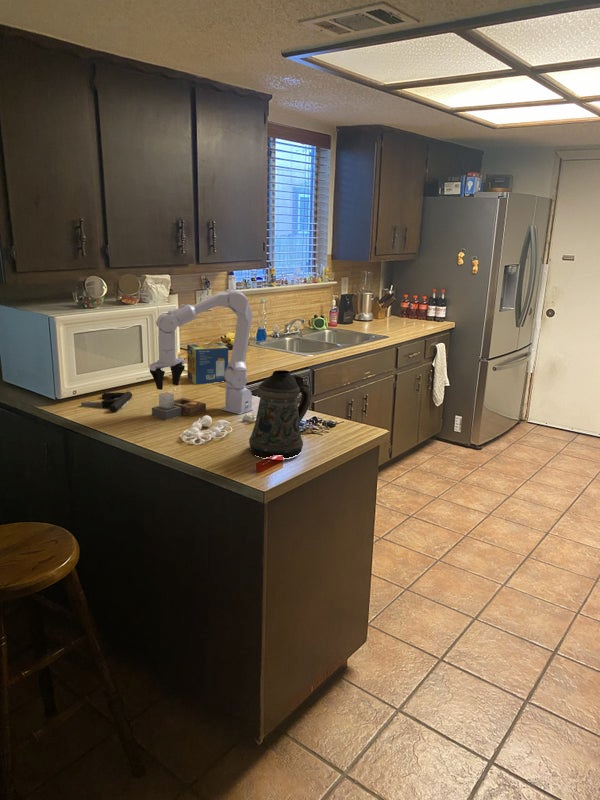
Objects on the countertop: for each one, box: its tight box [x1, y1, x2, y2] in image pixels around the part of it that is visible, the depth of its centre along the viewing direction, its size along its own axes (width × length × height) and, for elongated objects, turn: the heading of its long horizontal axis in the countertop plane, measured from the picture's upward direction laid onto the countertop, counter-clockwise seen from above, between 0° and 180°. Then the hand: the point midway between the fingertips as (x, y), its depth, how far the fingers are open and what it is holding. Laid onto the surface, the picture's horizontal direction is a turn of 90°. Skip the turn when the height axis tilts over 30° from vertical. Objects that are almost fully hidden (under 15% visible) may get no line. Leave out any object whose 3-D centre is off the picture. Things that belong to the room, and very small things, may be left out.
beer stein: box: [248, 369, 312, 458], centre depth 183 cm, size 16×19×25 cm
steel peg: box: [158, 391, 175, 410], centre depth 213 cm, size 4×4×8 cm
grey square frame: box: [151, 405, 182, 421], centre depth 214 cm, size 7×7×3 cm
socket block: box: [174, 397, 207, 417], centre depth 220 cm, size 11×8×3 cm
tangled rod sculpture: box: [179, 415, 233, 446], centre depth 195 cm, size 19×14×4 cm
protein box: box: [186, 342, 229, 385], centre depth 262 cm, size 10×15×16 cm
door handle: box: [80, 390, 134, 413], centre depth 224 cm, size 3×20×16 cm
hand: (167, 387), depth 212 cm, fingers open, 7 cm apart
